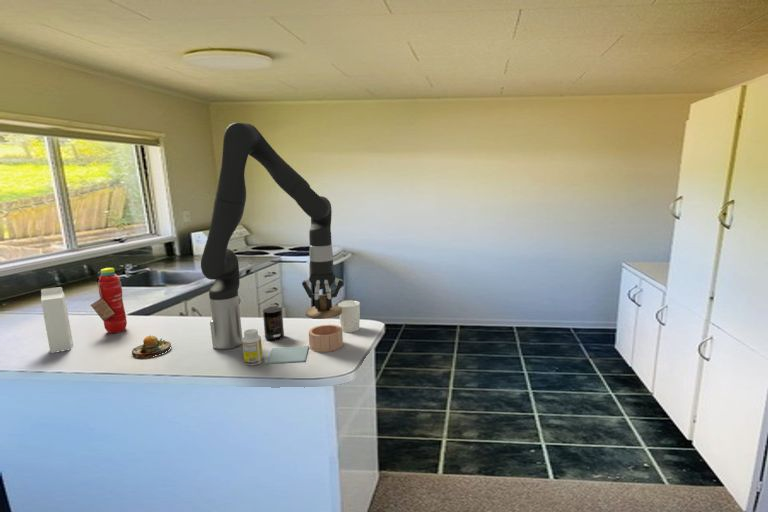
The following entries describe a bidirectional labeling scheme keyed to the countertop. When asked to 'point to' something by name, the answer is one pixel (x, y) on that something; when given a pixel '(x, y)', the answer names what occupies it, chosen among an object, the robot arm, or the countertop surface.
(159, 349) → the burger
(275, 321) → the supplement container
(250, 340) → the supplement bottle
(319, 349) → the bowl
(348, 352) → the countertop surface
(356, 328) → the white cup
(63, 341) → the milk
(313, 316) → the lid
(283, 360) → the mat
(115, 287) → the water bottle
